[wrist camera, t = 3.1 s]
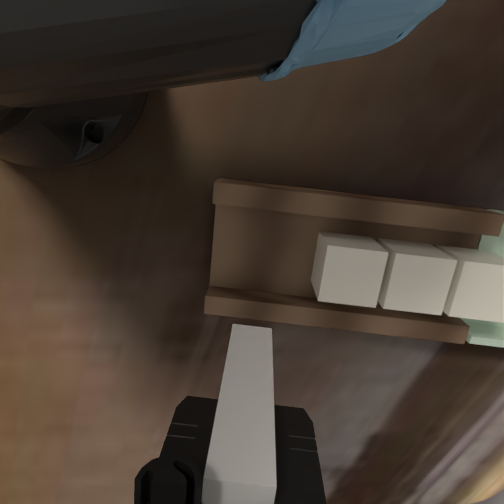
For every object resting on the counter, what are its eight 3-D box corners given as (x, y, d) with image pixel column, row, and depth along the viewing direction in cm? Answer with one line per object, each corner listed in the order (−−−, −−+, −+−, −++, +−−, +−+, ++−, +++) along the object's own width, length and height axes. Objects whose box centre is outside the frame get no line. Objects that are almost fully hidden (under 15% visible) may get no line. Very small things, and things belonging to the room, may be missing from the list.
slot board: (209, 297, 30) (203, 313, 27) (219, 178, 27) (213, 182, 24) (445, 325, 30) (464, 344, 27) (480, 208, 27) (505, 215, 24)
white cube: (367, 286, 28) (383, 308, 24) (377, 237, 27) (396, 253, 23) (417, 292, 28) (441, 315, 24) (430, 243, 27) (457, 260, 23)
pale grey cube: (310, 279, 28) (317, 301, 24) (318, 231, 27) (327, 245, 23) (360, 285, 28) (375, 307, 24) (371, 237, 27) (388, 252, 23)
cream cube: (423, 293, 28) (448, 316, 24) (436, 244, 27) (465, 261, 23) (473, 298, 28) (506, 323, 24) (489, 250, 27) (526, 268, 23)
